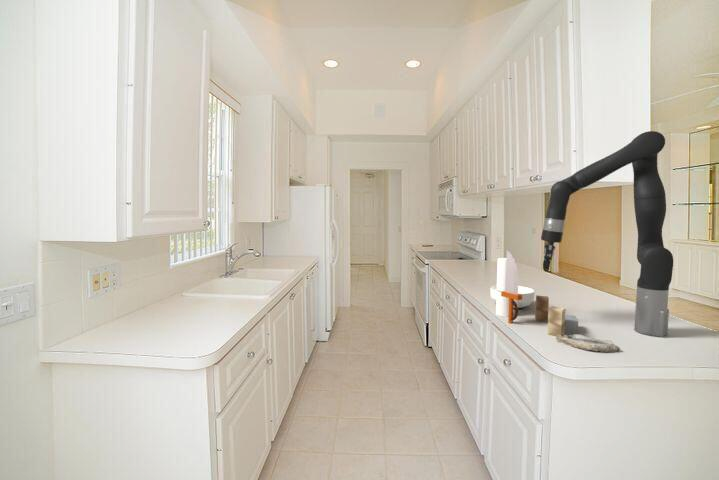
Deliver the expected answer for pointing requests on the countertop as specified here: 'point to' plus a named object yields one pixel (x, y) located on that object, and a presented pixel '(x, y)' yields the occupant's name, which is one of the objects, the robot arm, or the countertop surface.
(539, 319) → the walnut block
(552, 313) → the oak block
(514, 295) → the knife
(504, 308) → the cylindrical container
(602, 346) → the fossil
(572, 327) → the base block
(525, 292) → the bowl
